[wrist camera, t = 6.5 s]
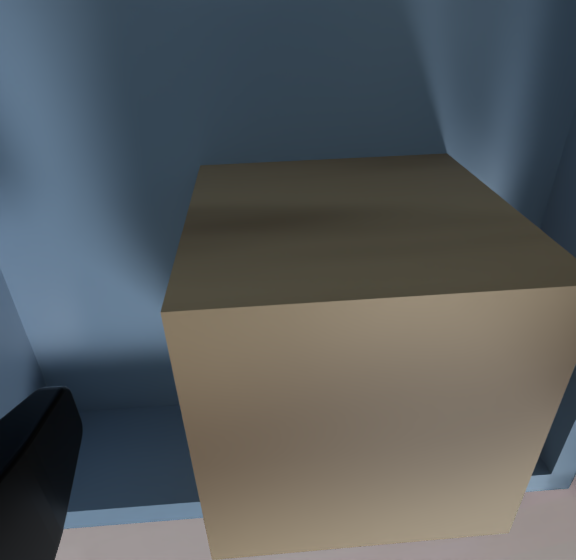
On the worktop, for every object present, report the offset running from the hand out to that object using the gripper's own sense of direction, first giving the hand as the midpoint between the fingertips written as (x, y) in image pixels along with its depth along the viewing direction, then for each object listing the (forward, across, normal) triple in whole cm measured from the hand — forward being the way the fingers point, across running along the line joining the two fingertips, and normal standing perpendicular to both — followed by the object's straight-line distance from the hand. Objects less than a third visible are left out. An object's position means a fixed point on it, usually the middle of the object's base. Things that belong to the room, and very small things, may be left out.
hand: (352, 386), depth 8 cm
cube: (+4, 0, 0) cm, 4 cm away
